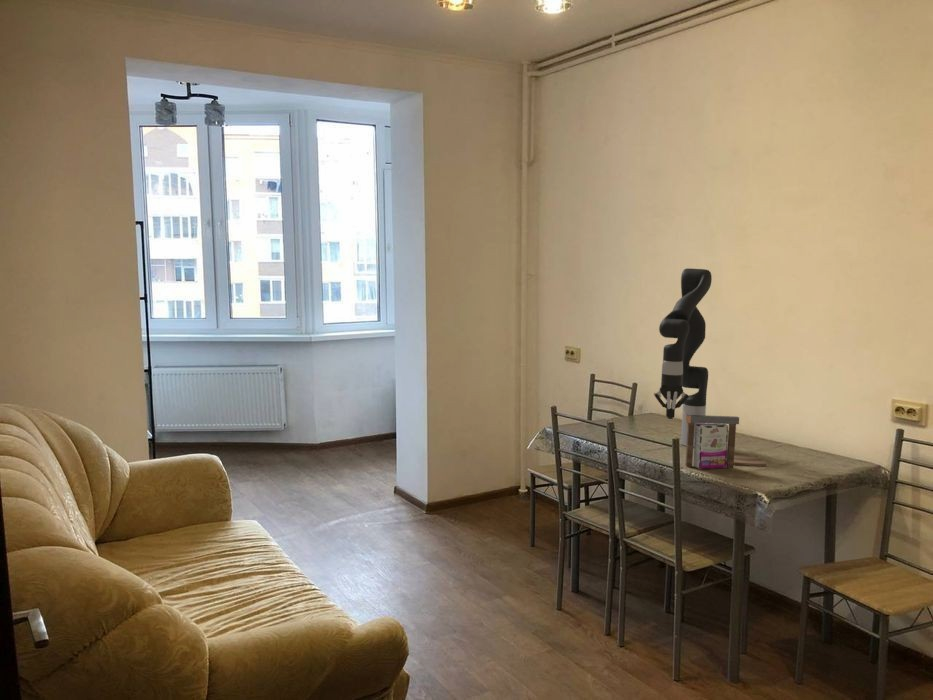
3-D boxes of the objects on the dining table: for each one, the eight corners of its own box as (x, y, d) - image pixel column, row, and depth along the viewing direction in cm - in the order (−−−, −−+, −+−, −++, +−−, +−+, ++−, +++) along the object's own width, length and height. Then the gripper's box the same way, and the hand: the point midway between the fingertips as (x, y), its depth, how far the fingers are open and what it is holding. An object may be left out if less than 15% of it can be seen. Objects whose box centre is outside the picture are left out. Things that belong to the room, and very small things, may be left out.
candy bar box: (719, 464, 270) (721, 422, 268) (726, 468, 265) (729, 425, 263) (692, 465, 268) (694, 423, 266) (699, 469, 263) (701, 426, 261)
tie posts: (685, 465, 268) (687, 421, 266) (731, 467, 267) (734, 423, 265) (686, 466, 266) (688, 422, 264) (733, 468, 265) (736, 424, 263)
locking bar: (685, 421, 266) (685, 414, 266) (737, 423, 264) (737, 416, 264) (686, 422, 264) (686, 415, 264) (738, 424, 262) (739, 417, 262)
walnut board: (715, 456, 282) (715, 453, 281) (756, 458, 280) (756, 455, 280) (722, 464, 270) (723, 462, 270) (766, 466, 268) (766, 463, 268)
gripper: (688, 371, 267) (686, 417, 269) (652, 370, 268) (650, 415, 270) (692, 374, 259) (690, 421, 261) (655, 373, 261) (653, 420, 263)
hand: (669, 418), depth 266 cm, fingers closed
